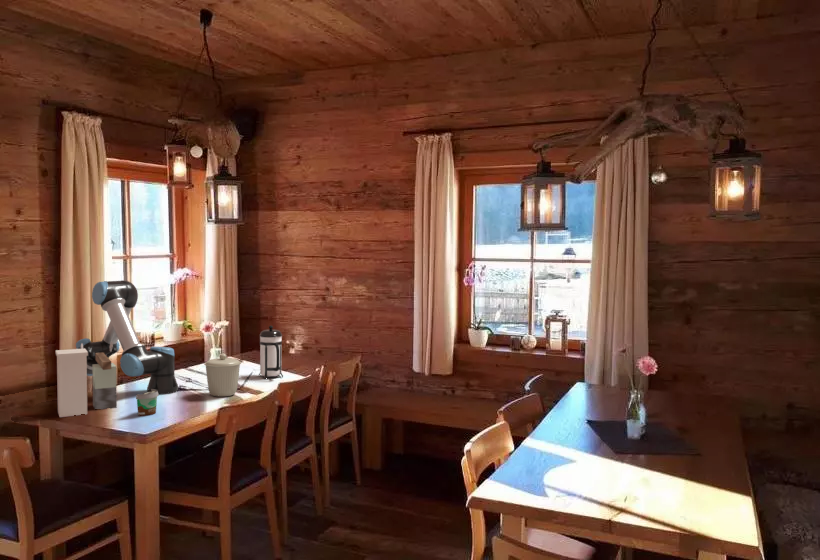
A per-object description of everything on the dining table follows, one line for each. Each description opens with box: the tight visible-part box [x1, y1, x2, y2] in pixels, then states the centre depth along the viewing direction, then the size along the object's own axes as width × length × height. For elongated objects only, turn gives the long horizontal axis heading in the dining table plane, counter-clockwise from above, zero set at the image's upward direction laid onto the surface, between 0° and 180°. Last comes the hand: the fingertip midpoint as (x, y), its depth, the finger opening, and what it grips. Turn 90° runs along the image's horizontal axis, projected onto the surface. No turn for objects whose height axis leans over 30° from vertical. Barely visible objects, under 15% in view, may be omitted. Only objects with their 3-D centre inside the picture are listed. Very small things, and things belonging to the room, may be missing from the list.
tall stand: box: [55, 348, 88, 418], centre depth 299 cm, size 12×12×28 cm
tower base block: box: [92, 385, 118, 410], centre depth 312 cm, size 9×10×10 cm
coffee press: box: [258, 325, 284, 380], centre depth 383 cm, size 17×16×30 cm
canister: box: [204, 353, 242, 398], centre depth 338 cm, size 18×18×21 cm
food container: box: [135, 389, 160, 417], centre depth 300 cm, size 12×6×10 cm, turn 168°
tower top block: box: [92, 362, 117, 389], centre depth 311 cm, size 9×10×10 cm
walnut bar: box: [95, 353, 112, 370], centre depth 313 cm, size 4×28×4 cm, turn 31°
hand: (97, 345), depth 331 cm, fingers open, 13 cm apart
